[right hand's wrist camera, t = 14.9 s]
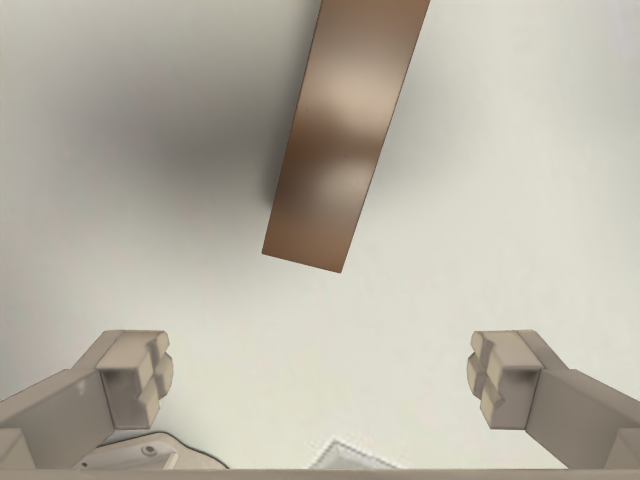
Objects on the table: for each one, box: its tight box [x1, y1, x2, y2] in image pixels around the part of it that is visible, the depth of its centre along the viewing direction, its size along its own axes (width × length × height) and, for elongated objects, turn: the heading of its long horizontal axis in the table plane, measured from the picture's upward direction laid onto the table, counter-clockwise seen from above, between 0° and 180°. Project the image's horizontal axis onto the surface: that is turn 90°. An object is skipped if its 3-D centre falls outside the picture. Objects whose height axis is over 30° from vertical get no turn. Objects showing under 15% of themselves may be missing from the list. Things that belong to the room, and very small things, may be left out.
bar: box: [262, 0, 430, 273], centre depth 25 cm, size 26×5×9 cm, turn 165°
